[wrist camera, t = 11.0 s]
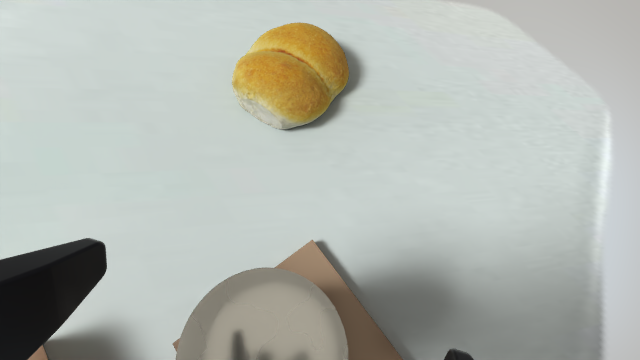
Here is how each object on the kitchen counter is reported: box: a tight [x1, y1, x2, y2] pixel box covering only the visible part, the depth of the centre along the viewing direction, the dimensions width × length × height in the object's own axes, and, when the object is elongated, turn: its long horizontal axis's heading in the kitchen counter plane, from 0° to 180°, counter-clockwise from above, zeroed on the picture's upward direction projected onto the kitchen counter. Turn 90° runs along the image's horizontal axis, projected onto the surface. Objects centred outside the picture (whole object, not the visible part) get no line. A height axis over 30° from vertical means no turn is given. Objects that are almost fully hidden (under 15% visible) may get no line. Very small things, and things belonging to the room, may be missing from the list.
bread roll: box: [232, 23, 349, 129], centre depth 26 cm, size 8×9×4 cm
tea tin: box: [176, 268, 348, 360], centre depth 15 cm, size 5×5×10 cm
